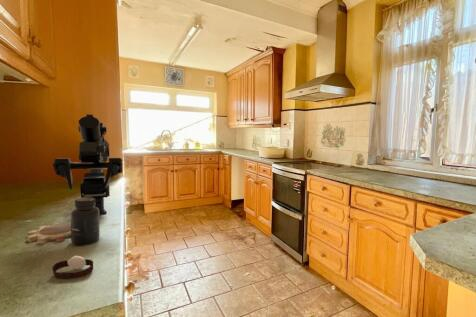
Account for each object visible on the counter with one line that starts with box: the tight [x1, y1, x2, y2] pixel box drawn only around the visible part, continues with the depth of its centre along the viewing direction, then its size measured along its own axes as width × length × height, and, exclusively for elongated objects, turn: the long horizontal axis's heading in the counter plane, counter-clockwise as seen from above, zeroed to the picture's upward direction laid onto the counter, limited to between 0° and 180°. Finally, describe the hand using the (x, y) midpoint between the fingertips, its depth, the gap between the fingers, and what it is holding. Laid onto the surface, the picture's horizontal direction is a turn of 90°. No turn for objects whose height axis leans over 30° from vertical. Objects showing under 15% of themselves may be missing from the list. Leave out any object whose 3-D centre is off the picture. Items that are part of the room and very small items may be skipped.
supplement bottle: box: [70, 197, 101, 247], centre depth 67 cm, size 7×7×12 cm
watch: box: [51, 255, 94, 280], centre depth 52 cm, size 8×5×4 cm, turn 99°
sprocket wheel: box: [26, 220, 71, 244], centre depth 73 cm, size 14×14×1 cm
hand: (88, 187), depth 74 cm, fingers open, 9 cm apart
